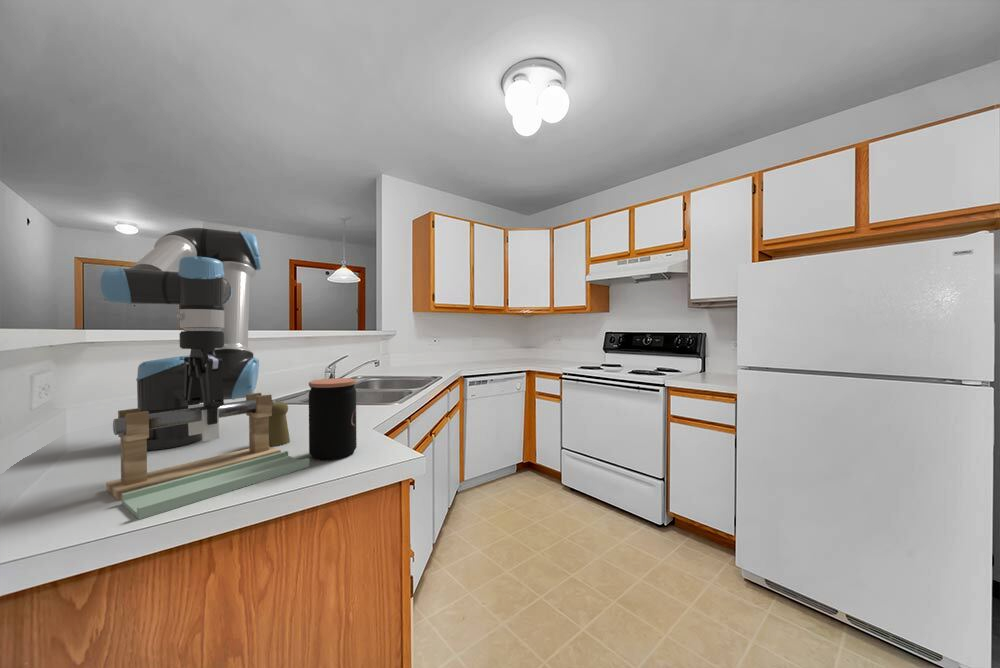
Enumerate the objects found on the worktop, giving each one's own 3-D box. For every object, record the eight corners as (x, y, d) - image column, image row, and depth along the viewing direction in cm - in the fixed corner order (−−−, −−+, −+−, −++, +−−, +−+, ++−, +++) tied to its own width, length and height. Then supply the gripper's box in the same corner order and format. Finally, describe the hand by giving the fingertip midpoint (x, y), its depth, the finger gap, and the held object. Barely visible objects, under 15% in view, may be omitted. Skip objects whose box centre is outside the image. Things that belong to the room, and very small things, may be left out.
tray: (121, 504, 66) (121, 493, 66) (286, 458, 89) (286, 450, 89) (139, 519, 60) (138, 508, 60) (309, 466, 83) (309, 458, 83)
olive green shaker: (278, 447, 98) (277, 405, 98) (258, 445, 99) (258, 404, 99) (295, 440, 104) (295, 400, 103) (276, 439, 105) (276, 400, 105)
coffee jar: (361, 455, 91) (360, 381, 91) (312, 464, 85) (311, 385, 84) (351, 444, 99) (350, 377, 99) (306, 452, 93) (305, 380, 93)
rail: (117, 436, 69) (117, 419, 69) (113, 433, 70) (112, 417, 70) (272, 410, 91) (272, 397, 91) (266, 408, 93) (266, 396, 93)
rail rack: (106, 490, 71) (105, 411, 71) (264, 450, 95) (264, 391, 95) (117, 500, 67) (116, 416, 67) (280, 456, 90) (280, 394, 90)
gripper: (164, 330, 83) (165, 433, 83) (198, 329, 72) (200, 449, 72) (205, 330, 89) (206, 426, 89) (242, 329, 78) (243, 439, 79)
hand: (203, 436), depth 81 cm, fingers open, 7 cm apart
